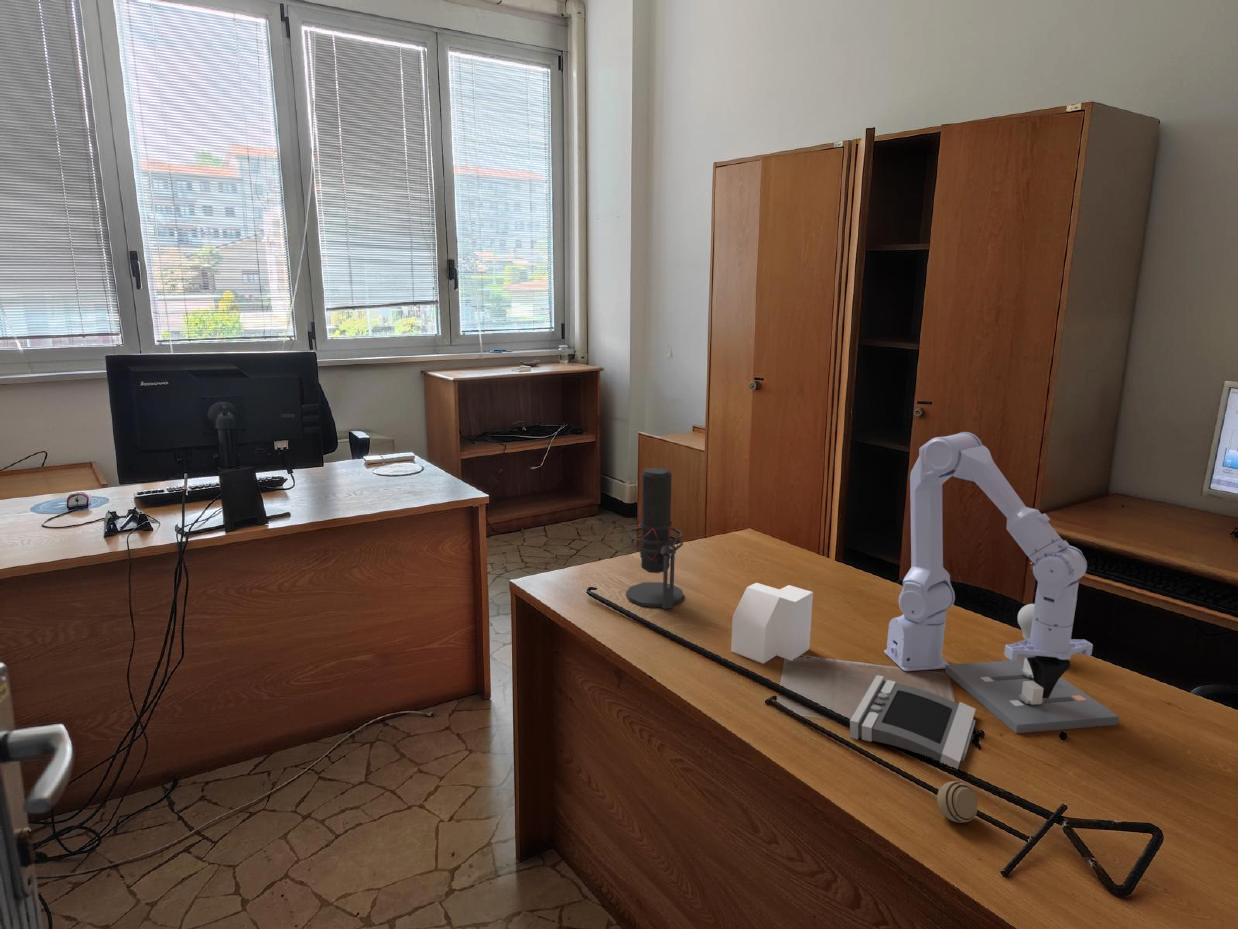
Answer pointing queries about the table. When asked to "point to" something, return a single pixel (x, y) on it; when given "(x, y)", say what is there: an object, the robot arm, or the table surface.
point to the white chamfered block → (772, 622)
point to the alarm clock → (914, 721)
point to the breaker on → (1027, 669)
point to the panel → (1000, 695)
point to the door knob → (957, 801)
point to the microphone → (656, 542)
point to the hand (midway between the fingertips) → (1042, 695)
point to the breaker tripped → (1031, 693)
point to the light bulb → (1026, 620)
